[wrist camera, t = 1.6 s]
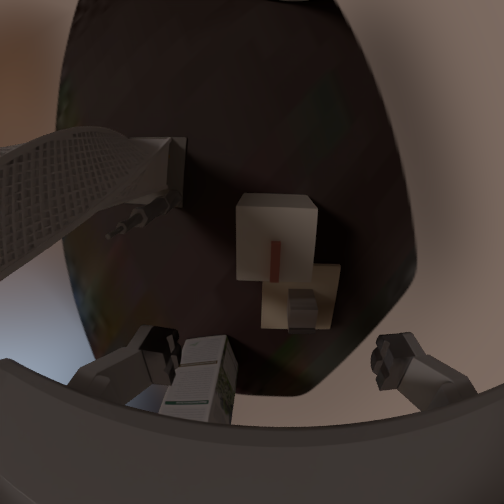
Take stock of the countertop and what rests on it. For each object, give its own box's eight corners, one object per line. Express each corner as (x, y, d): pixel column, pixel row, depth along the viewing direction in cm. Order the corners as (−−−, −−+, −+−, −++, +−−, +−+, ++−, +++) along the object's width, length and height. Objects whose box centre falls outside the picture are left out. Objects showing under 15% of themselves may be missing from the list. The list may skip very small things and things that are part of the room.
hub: (263, 261, 28) (261, 284, 23) (339, 264, 27) (351, 286, 23) (261, 324, 31) (259, 353, 26) (328, 326, 30) (336, 353, 26)
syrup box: (184, 338, 32) (147, 431, 19) (228, 332, 32) (206, 435, 18) (200, 369, 34) (174, 458, 21) (241, 365, 33) (227, 461, 20)
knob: (243, 193, 25) (234, 207, 19) (307, 195, 25) (319, 210, 19) (243, 252, 28) (235, 283, 21) (303, 253, 27) (311, 285, 21)
